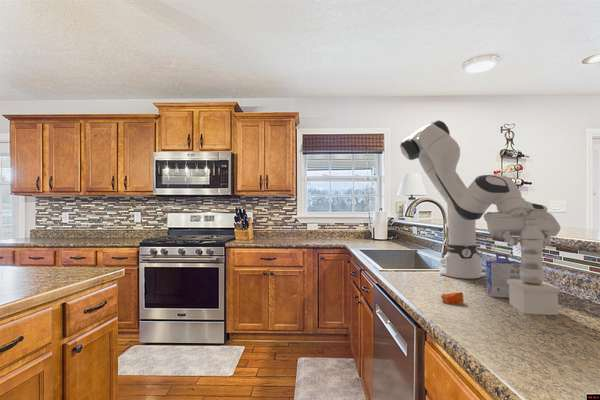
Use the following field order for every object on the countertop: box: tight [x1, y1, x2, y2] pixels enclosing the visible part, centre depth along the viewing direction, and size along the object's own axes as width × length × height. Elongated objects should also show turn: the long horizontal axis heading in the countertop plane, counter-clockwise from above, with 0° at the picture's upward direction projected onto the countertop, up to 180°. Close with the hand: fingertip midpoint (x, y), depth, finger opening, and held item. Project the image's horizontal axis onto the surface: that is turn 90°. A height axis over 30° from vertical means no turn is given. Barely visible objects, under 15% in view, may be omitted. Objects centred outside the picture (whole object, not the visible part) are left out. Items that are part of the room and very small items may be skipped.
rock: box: [440, 291, 464, 306], centre depth 105 cm, size 12×12×4 cm
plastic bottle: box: [518, 219, 546, 284], centre depth 97 cm, size 6×7×20 cm
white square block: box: [507, 279, 562, 316], centre depth 97 cm, size 10×10×8 cm
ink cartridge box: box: [485, 253, 521, 299], centre depth 111 cm, size 10×6×14 cm, turn 78°
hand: (531, 244), depth 98 cm, fingers open, 8 cm apart
